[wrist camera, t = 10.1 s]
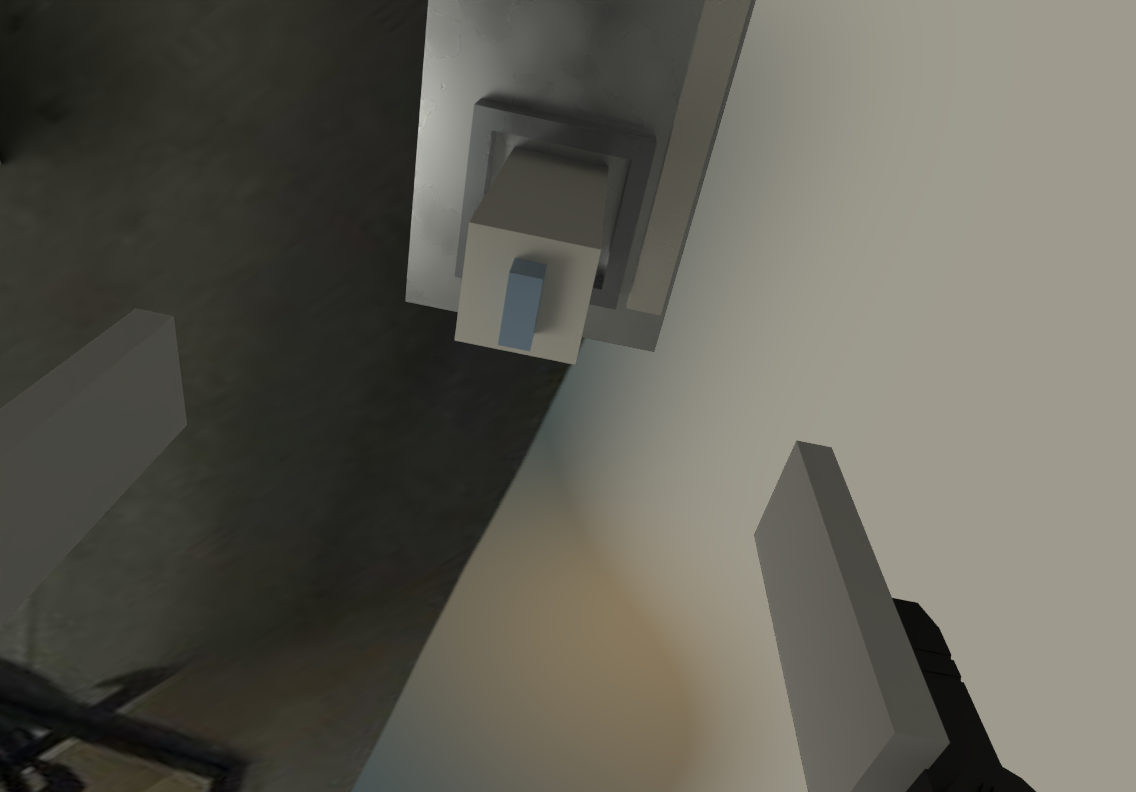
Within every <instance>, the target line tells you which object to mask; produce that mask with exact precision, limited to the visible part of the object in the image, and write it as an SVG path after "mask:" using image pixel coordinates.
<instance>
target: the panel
mask: <svg viewBox="0 0 1136 792" xmlns="http://www.w3.org/2000/svg"><path fill="white" fill-rule="evenodd" d="M755 1H756V0H428V13H427V26H426V39H425V52H424V65H423V78H422V91H421V104H420V117H419V130H418V143H417V156H416V170H415V183H414V196H413V209H412V222H411V235H410V248H409V261H408V274H407V287H406V300H405V301H406V302H411V303H416V304H421V305H426V306H431V307H436V308H440V309H445V310H450V311H455V312H458V309H459V300H460V292H461V284H462V275H463V267H464V259H465V250H466V242H467V234H468V225H469V221H470V220H471V218H472V216H473V215H474V213H475V211H476V210H477V208H478V206H479V205H480V203H481V201H482V200H483V198H484V196H485V195H486V193H487V191H488V190H489V188H490V186H491V185H492V183H493V181H494V180H495V178H496V176H497V175H498V173H499V171H500V170H501V168H502V166H503V165H504V163H505V161H506V160H507V158H508V156H509V155H510V153H511V151H512V150H513V148H514V147H515V148H520V149H525V150H529V151H534V152H539V153H544V154H548V155H553V156H558V157H562V158H567V159H572V160H576V161H581V162H586V163H591V164H595V165H600V166H605V167H608V177H607V188H606V200H605V211H604V223H603V235H602V246H601V253H600V257H599V262H598V266H597V271H596V275H595V279H594V284H593V288H592V293H591V297H590V302H589V306H588V311H587V315H586V319H585V324H584V328H583V333H582V337H583V338H589V339H593V340H598V341H603V342H608V343H613V344H618V345H623V346H628V347H633V348H637V349H643V350H648V351H652V352H654V350H655V347H656V344H657V340H658V336H659V333H660V330H661V326H662V322H663V319H664V316H665V312H666V309H667V305H668V302H669V299H670V295H671V291H672V288H673V285H674V281H675V277H676V274H677V271H678V267H679V264H680V260H681V257H682V254H683V250H684V247H685V243H686V239H687V236H688V232H689V229H690V226H691V222H692V219H693V215H694V212H695V209H696V205H697V201H698V198H699V195H700V191H701V188H702V184H703V181H704V177H705V174H706V170H707V167H708V163H709V160H710V156H711V153H712V150H713V146H714V143H715V139H716V136H717V132H718V129H719V125H720V122H721V119H722V115H723V112H724V108H725V105H726V101H727V98H728V94H729V91H730V87H731V84H732V80H733V77H734V73H735V70H736V67H737V63H738V60H739V56H740V53H741V49H742V46H743V42H744V39H745V35H746V32H747V28H748V25H749V22H750V18H751V15H752V11H753V8H754V4H755Z"/></svg>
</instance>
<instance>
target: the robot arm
mask: <svg viewBox="0 0 1136 792" xmlns="http://www.w3.org/2000/svg"><path fill="white" fill-rule="evenodd" d="M186 425H187V421H186V413H185V405H184V397H183V389H182V381H181V373H180V365H179V357H178V349H177V340H176V332H175V324H174V316H171V315H166V314H161V313H156V312H151V311H146V310H141V309H134V310H133V311H132V312H130V313H129V314H128V315H126V316H125V317H124V318H122V319H121V320H120V321H118V322H117V323H116V324H114V325H113V326H111V327H110V328H109V329H107V330H106V331H105V332H103V333H102V334H101V335H99V336H98V337H97V338H95V339H94V340H92V341H91V342H90V343H88V344H87V345H86V346H84V347H83V348H82V349H80V350H79V351H78V352H76V353H75V354H74V355H72V356H71V357H69V358H68V359H67V360H65V361H64V362H63V363H61V364H60V365H59V366H57V367H56V368H55V369H53V370H52V371H50V372H49V373H48V374H46V375H45V376H44V377H42V378H41V379H40V380H38V381H37V382H36V383H34V384H33V385H32V386H30V387H29V388H27V389H26V390H25V391H23V392H22V393H21V394H19V395H18V396H17V397H15V398H14V399H13V400H11V401H10V402H9V403H7V404H6V405H4V406H3V407H2V408H0V627H1V626H2V625H3V624H4V623H5V622H6V620H7V619H8V618H9V617H10V616H11V615H12V614H13V613H14V612H15V611H16V610H17V609H18V607H19V606H20V605H21V604H22V603H23V602H24V601H25V600H26V599H27V598H28V597H29V596H30V594H31V593H32V592H33V591H34V590H35V589H36V588H37V587H38V586H39V585H40V584H41V582H42V581H43V580H44V579H45V578H46V577H47V576H48V575H49V574H50V573H51V572H52V571H53V569H54V568H55V567H56V566H57V565H58V564H59V563H60V562H61V561H62V560H63V559H64V557H65V556H66V555H67V554H68V553H69V552H70V551H71V550H72V549H73V548H74V547H75V546H76V544H77V543H78V542H79V541H80V540H81V539H82V538H83V537H84V536H85V535H86V534H87V533H88V531H89V530H90V529H91V528H92V527H93V526H94V525H95V524H96V523H97V522H98V521H99V519H100V518H101V517H102V516H103V515H104V514H105V513H106V512H107V511H108V510H109V509H110V508H111V506H112V505H113V504H114V503H115V502H116V501H117V500H118V499H119V498H120V497H121V496H122V495H123V493H124V492H125V491H126V490H127V489H128V488H129V487H130V486H131V485H132V484H133V483H134V481H135V480H136V479H137V478H138V477H139V476H140V475H141V474H142V473H143V472H144V471H145V470H146V468H147V467H148V466H149V465H150V464H151V463H152V462H153V461H154V460H155V459H156V458H157V457H158V455H159V454H160V453H161V452H162V451H163V450H164V449H165V448H166V447H167V446H168V445H169V443H170V442H171V441H172V440H173V439H174V438H175V437H176V436H177V435H178V434H179V433H180V432H181V430H182V429H183V428H184V427H185V426H186ZM754 537H755V541H756V546H757V551H758V556H759V560H760V565H761V570H762V574H763V579H764V584H765V589H766V594H767V598H768V603H769V608H770V613H771V617H772V622H773V627H774V632H775V636H776V641H777V646H778V651H779V655H780V660H781V665H782V670H783V674H784V679H785V684H786V688H787V693H788V698H789V703H790V708H791V712H792V716H793V721H794V727H795V731H796V736H797V741H798V746H799V750H800V755H801V760H802V765H803V769H804V774H805V779H806V784H807V788H808V792H1036V791H1035V790H1034V789H1033V788H1031V787H1030V786H1029V785H1028V784H1027V783H1026V782H1025V781H1024V780H1023V779H1022V778H1020V777H1019V776H1017V775H1015V774H1013V773H1012V772H1010V771H1009V770H1007V769H1005V768H1003V767H1002V765H1001V763H1000V762H999V759H998V757H997V755H996V752H995V750H994V748H993V746H992V744H991V741H990V739H989V737H988V735H987V733H986V731H985V728H984V726H983V724H982V722H981V719H980V717H979V715H978V713H977V710H976V708H975V706H974V704H973V702H972V699H971V697H970V695H969V693H968V691H967V689H966V686H965V684H964V682H961V675H960V673H959V671H958V669H957V666H956V664H955V662H954V660H951V653H950V651H949V649H948V646H947V644H946V642H945V640H944V638H943V636H942V633H941V631H940V629H939V627H938V626H937V625H936V624H935V623H934V621H933V620H932V619H931V618H930V617H929V616H928V614H927V613H926V612H925V611H924V610H923V609H922V608H921V606H920V605H919V604H918V603H915V602H910V601H905V600H900V599H895V598H892V597H891V595H890V592H889V590H888V587H887V584H886V582H885V580H884V577H883V575H882V572H881V570H880V567H879V565H878V562H877V560H876V557H875V555H874V552H873V550H872V547H871V545H870V542H869V540H868V537H867V535H866V532H865V530H864V527H863V525H862V522H861V520H860V517H859V515H858V512H857V510H856V507H855V505H854V502H853V500H852V497H851V495H850V492H849V490H848V487H847V485H846V482H845V480H844V477H843V475H842V472H841V470H840V467H839V465H838V462H837V460H836V457H835V455H834V452H833V450H832V448H831V447H826V446H821V445H816V444H811V443H806V442H801V441H796V443H795V445H794V447H793V449H792V452H791V454H790V456H789V458H788V461H787V463H786V465H785V467H784V470H783V472H782V474H781V476H780V479H779V481H778V483H777V485H776V487H775V489H774V492H773V494H772V496H771V498H770V500H769V503H768V505H767V507H766V509H765V512H764V514H763V516H762V518H761V521H760V523H759V525H758V527H757V529H756V531H755V534H754Z"/></svg>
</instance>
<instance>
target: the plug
mask: <svg viewBox="0 0 1136 792" xmlns="http://www.w3.org/2000/svg"><path fill="white" fill-rule="evenodd" d="M607 177H608V167H605V166H600V165H595V164H591V163H586V162H581V161H576V160H572V159H567V158H562V157H558V156H553V155H548V154H544V153H539V152H534V151H529V150H525V149H520V148H515V147H514V148H513V150H512V151H511V153H510V155H509V156H508V158H507V160H506V161H505V163H504V165H503V166H502V168H501V170H500V171H499V173H498V175H497V176H496V178H495V180H494V181H493V183H492V185H491V186H490V188H489V190H488V191H487V193H486V195H485V196H484V198H483V200H482V201H481V203H480V205H479V206H478V208H477V210H476V211H475V213H474V215H473V216H472V218H471V220H470V221H469V225H468V234H467V242H466V250H465V259H464V267H463V275H462V284H461V292H460V300H459V309H458V317H457V325H456V334H455V340H456V341H461V342H465V343H470V344H475V345H480V346H485V347H490V348H495V349H500V350H505V351H510V352H515V353H520V354H525V355H530V356H535V357H540V358H545V359H550V360H555V361H560V362H565V363H570V364H576V359H577V355H578V351H579V346H580V342H581V337H582V333H583V328H584V324H585V319H586V315H587V311H588V306H589V302H590V297H591V293H592V288H593V284H594V279H595V275H596V271H597V266H598V262H599V257H600V253H601V246H602V235H603V223H604V211H605V200H606V188H607Z"/></svg>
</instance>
